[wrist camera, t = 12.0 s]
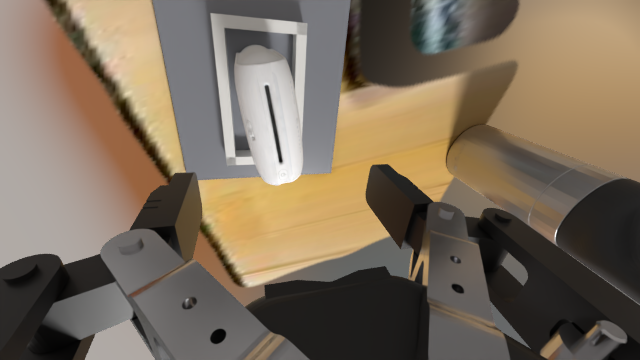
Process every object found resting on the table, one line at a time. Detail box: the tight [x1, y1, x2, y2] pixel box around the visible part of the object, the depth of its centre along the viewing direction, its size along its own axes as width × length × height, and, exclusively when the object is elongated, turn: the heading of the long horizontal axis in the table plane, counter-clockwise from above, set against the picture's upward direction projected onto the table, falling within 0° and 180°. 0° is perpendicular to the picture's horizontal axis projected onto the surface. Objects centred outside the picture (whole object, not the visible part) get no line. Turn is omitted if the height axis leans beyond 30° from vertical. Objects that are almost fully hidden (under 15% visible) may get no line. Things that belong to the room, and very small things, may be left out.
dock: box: [153, 0, 350, 180], centre depth 28 cm, size 18×20×3 cm
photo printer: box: [234, 45, 303, 185], centre depth 23 cm, size 10×4×12 cm, turn 6°
